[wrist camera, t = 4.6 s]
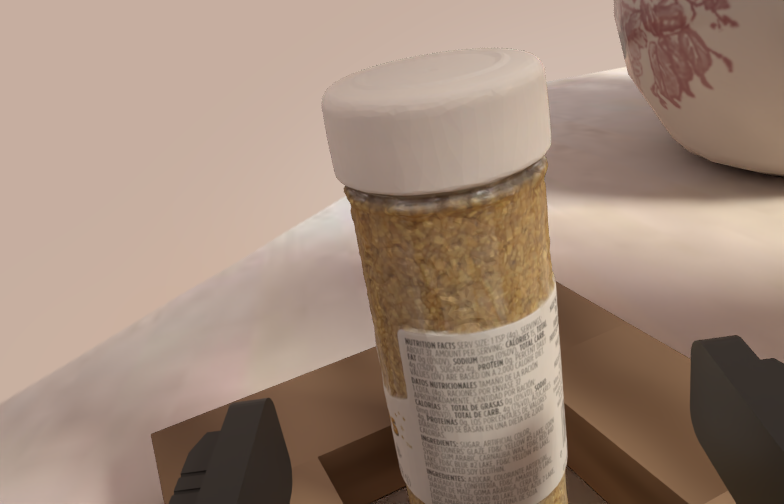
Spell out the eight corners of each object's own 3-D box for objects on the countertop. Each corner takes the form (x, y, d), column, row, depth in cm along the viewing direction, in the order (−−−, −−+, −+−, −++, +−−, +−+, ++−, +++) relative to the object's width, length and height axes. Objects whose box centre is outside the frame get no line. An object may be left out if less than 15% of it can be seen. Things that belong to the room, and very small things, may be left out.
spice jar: (428, 486, 22) (348, 59, 16) (576, 489, 21) (544, 32, 15) (402, 616, 18) (285, 107, 12) (584, 629, 17) (546, 75, 11)
